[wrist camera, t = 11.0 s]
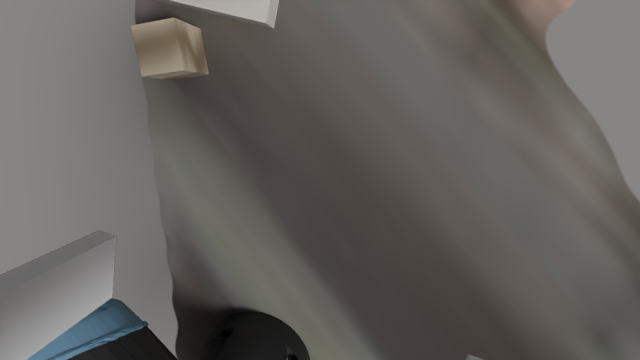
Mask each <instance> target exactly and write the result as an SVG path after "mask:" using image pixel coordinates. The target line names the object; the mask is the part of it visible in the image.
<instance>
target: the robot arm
mask: <svg viewBox="0 0 640 360" xmlns="http://www.w3.org/2000/svg"><path fill="white" fill-rule="evenodd" d="M116 238H117V237H116V236H114V235H111V234H108V233H105V232H102V231H97V232H94V233H92V234H90V235H88V236H85V237H83V238H81V239H79V240H77V241H74V242H72V243H70V244H68V245H66V246H63V247H61V248H59V249H57V250H55V251H52V252H50V253H48V254H46V255H44V256H41V257H39V258H37V259H35V260H32V261H30V262H28V263H26V264H24V265H21V266H19V267H17V268H15V269H12V270H10V271H8V272H6V273H4V274H1V275H0V360H178V359H177V358H176V357H175V356H174V355H173V354H172V353H171V352H170V351H169V350H168V349H167V348H166V346H165V345H164V344H163V343H162V342H161V341H160V340H159V339H158V338H157V337H156V336H155V335H154V334H153V332H152V331H151V330H150V329H149V328H148V327H147V326H148V323H147V322H146V321H142V320H141V319H140V318H139V317H138V316H137V315H136V314H134V312H133V311H132V310H130V309H129V308H128V307H127V306H126V305H125V304H124V303H123V302H122V301H119V300H116V299H111V298H112V294H113V279H114V265H115V252H116ZM201 360H310V357H309V354H308V351H307V349H306V347H305V345H304V343H303V342H302V340H301V339H300V337H299V336H298V335H297V334H296V333H295V332H294V331H293V330H292V329H291V328H290V327H289V326H287V325H286V324H284V323H283V322H281V321H279V320H278V319H276V318H273V317H271V316H268V315H265V314H260V313H250V312H249V313H240V314H236V315H233V316H230V317H228V318H227V319H225V320H224V321H222V322H221V323H220V324H219V325H218V326H217V328H216V329H215V330H214V332H213V333H212V335H211V336H210V337H209V339H208V341H207V343H206V345H205V347H204V350H203V354H202V357H201ZM466 360H483V359H480V358H477V357H474V356H471V355H468V356H467V359H466Z"/></svg>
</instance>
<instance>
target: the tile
mask: <svg viewBox="0 0 640 360" xmlns="http://www.w3.org/2000/svg"><path fill="white" fill-rule="evenodd" d="M157 1H160V2H164V3H168V4H173V5H177V6H181V7H185V8H189V9H193V10H198V11H202V12H206V13H210V14H214V15H219V16H223V17H227V18H231V19H235V20H239V21H244V22H248V23H252V24H256V25H260V26H264V27H269V28H273V29H274V25H275V20H276V15H277V9H278V4H279V0H157Z"/></svg>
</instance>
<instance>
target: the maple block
mask: <svg viewBox="0 0 640 360" xmlns="http://www.w3.org/2000/svg"><path fill="white" fill-rule="evenodd" d="M131 30H132V34H133V39H134V43H135V48H136V53H137V57H138V62H139V66H140V71H141V76H142V77H150V78H158V79H167V80H174V79H181V78H188V77H194V76H201V75H208V74H209V73H208V67H207V62H206V56H205V51H204V45H203V39H202V34H201V29H200V28H198V27H195V26H193V25H191V24H188V23H186V22H183V21H181V20H179V19H176V18H169V19H163V20H158V21H153V22H148V23H142V24H137V25H132V26H131Z"/></svg>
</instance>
